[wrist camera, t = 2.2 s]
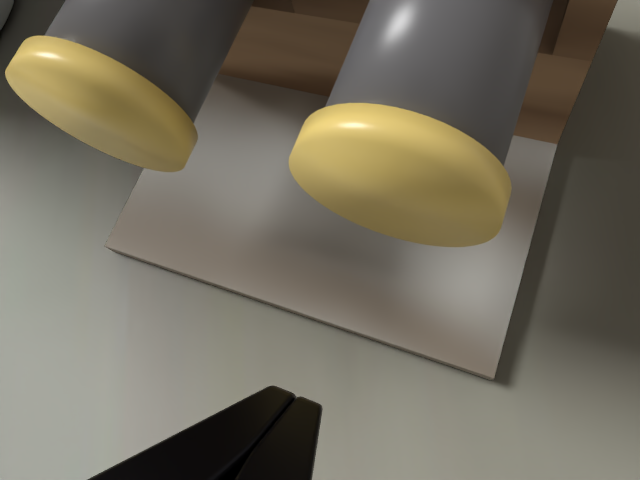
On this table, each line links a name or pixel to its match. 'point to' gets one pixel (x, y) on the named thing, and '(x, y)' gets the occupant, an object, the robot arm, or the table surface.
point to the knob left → (128, 73)
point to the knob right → (424, 119)
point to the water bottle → (5, 10)
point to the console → (323, 224)
